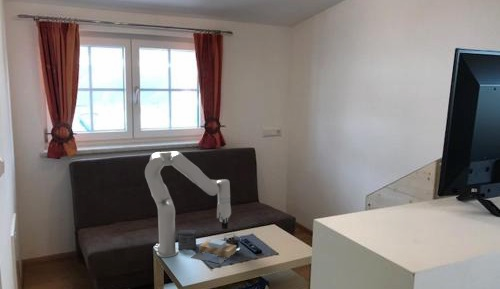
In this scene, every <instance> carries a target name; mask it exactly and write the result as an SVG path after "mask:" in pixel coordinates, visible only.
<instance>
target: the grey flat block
mask: <svg viewBox="0 0 500 289" xmlns="http://www.w3.org/2000/svg"><path fill="white" fill-rule="evenodd" d="M226 243H227V241H226V240H222V239H217V238H212V239H211V241H210V242H208V246H209V247H214V248H219V249H222V248H224V247H225V246H226Z"/></svg>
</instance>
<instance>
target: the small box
mask: <svg viewBox="0 0 500 289" xmlns="http://www.w3.org/2000/svg"><path fill="white" fill-rule="evenodd" d="M177 243H178V244H177V246H178V248H177V249H178V251H186V250H187V251H188V250H190V251H191V250H193V251H194V250H196V248H197V230H196V229H188V230H186V229H185V230H181V229H180V230H178V233H177Z"/></svg>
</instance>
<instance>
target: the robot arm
mask: <svg viewBox="0 0 500 289" xmlns="http://www.w3.org/2000/svg"><path fill="white" fill-rule="evenodd" d="M166 166H169V167H170V166H172V167H173V168H174V169H176V170H177V171H178V172H180V173H181V174H183V175H184V176H185V177H186V178H187V179H189V181H191V182H192V183H193V184H195V185H196V186H197V187H199V188H200V189H201V190H202V191H203V192H204V193H206V194H207V195H209V196H216V195H217V206H216V219H218V220H219V223H221V229H222V230H227V229H228V228H229V227H228V226H229V225H228V224H229V223H228V222H229V219H230V217H231V215H232V207H231V188H230V187H231V186H230V183H231V182H230V180H229V179H227V178H226V179H225V178H224V179H223V178H222V179H210V178H209V177H208V176H207V175H206V174H205V173H203V171H202V170H201V169H200V167H198V166H197V165H196V164H194V163H193V162H192V161H191V160H189V159H188V158H187V157H186V156H185V155H183V153H182V152H180V151H177V150H176V151H161V152H160V151H157V152H154V153H152V154H150V157H149V161H148V163H147V164H146V166H145V169H144V177H145V179H146V182H147V185H148V188H149V190H150V193H151V197H152V199H153V200H154V203H155V204H156V207H157V218H158V219H157V220H158V222H157V223H158V243H156V244H155V245H154V249H156V250H157V251H156V256H158V257H159V258H171V257H175V256H176V255H177V254H178V253H179V250H178V248H176V220H175V219H176V207H175V205H174V201H173V199H172V197H171V195H170V192H169V188H168V187H167V185H166V184H165V183H164V181H163V177H162V175H161V171H162V169H163V168H164V167H166Z"/></svg>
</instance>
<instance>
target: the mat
mask: <svg viewBox="0 0 500 289" xmlns="http://www.w3.org/2000/svg"><path fill="white" fill-rule="evenodd" d="M217 257H218V258H219V257H220V258H219V264H218V265H222V264H224V263H225V261H224V260H226V261H227V260H228V259H229V258H228V257H225V258H224V257H223V256H217ZM190 258H191V259H195V260H200V261H204V260H205V258H204V255H203V253H202V252H200V251H199V250H198V251H197V252H196V253H195V254H193V255H192V256H191V257H190Z"/></svg>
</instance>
